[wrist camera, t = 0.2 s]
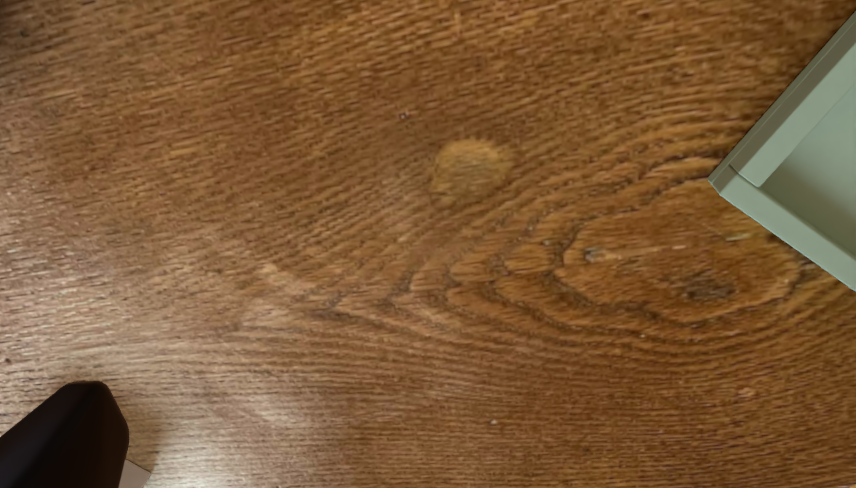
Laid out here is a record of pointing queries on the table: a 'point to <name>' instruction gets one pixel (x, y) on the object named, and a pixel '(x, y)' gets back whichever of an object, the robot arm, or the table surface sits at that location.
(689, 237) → the table surface
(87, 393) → the robot arm
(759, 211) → the tray
